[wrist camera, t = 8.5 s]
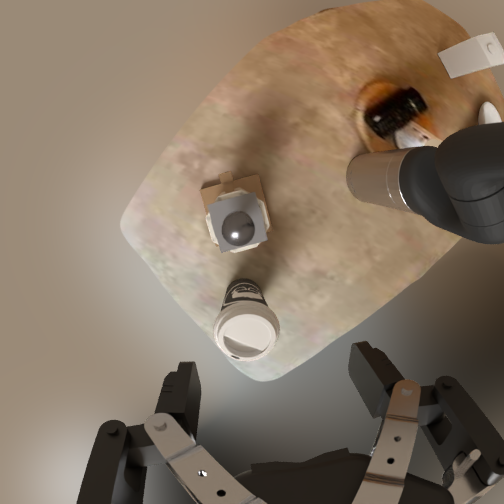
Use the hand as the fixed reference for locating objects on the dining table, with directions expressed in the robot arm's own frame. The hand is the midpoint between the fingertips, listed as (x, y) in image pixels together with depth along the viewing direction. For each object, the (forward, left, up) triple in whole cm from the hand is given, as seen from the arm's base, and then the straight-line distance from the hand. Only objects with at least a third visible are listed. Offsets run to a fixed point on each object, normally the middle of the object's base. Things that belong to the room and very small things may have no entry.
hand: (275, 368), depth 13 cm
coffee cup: (+3, +11, -36) cm, 38 cm away
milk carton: (-60, -29, -36) cm, 76 cm away
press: (0, -4, -36) cm, 36 cm away
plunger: (0, -4, -30) cm, 30 cm away
